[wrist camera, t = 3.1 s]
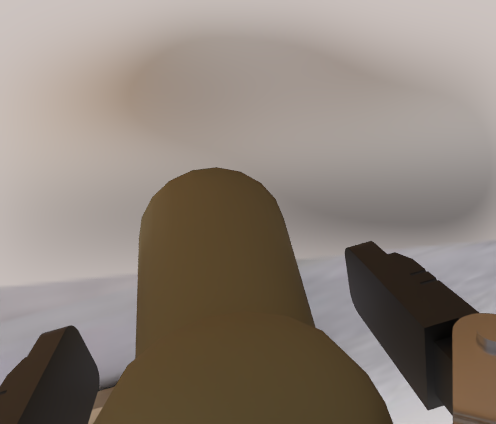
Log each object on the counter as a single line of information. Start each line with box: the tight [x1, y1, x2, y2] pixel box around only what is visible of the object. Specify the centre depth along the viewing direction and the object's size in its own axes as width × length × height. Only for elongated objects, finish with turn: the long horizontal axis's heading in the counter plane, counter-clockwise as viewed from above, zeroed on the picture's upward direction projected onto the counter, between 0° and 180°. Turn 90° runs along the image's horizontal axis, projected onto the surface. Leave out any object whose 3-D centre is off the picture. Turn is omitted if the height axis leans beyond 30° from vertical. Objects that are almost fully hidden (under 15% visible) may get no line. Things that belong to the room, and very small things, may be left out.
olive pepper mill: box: [93, 167, 393, 424], centre depth 9 cm, size 6×6×11 cm
